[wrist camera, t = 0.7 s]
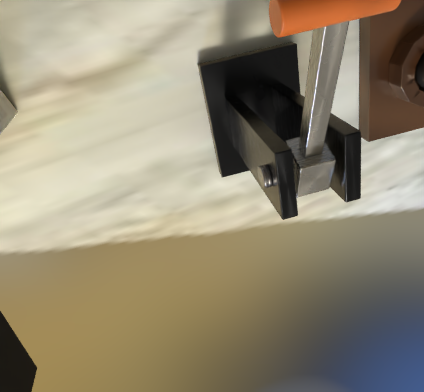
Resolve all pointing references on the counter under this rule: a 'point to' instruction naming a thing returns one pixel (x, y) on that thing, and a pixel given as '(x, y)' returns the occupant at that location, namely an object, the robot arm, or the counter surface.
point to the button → (420, 71)
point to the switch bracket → (270, 124)
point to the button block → (391, 71)
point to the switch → (319, 76)
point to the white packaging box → (5, 111)
